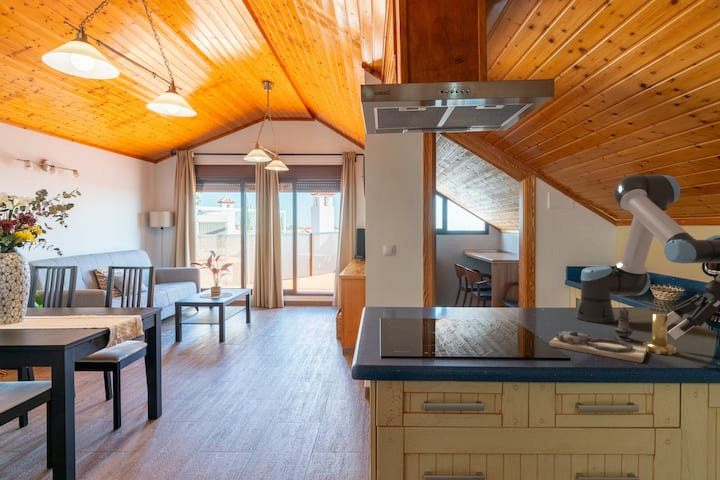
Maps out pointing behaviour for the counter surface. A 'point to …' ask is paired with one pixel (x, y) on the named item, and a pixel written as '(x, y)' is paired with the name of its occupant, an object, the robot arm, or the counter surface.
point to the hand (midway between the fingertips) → (665, 330)
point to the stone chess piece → (623, 326)
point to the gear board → (598, 346)
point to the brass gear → (659, 336)
